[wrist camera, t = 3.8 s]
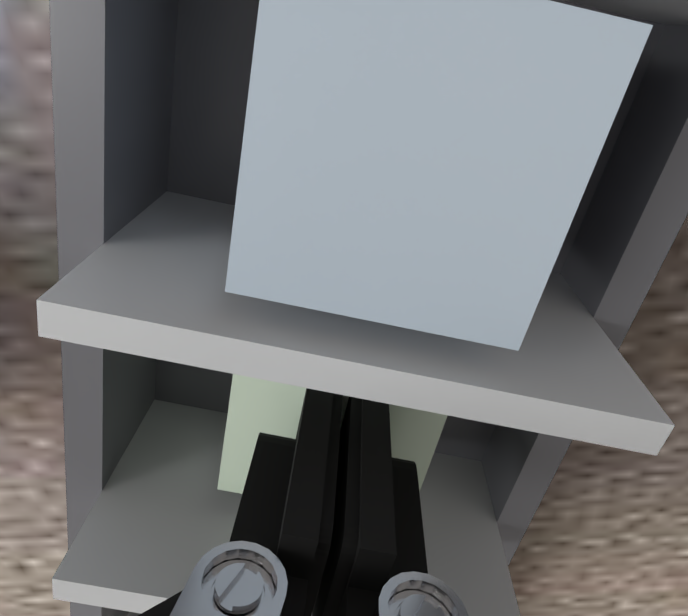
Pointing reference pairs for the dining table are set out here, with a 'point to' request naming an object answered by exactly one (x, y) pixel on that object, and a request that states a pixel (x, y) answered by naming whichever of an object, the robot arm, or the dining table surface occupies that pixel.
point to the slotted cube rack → (311, 310)
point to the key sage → (283, 419)
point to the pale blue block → (422, 155)
